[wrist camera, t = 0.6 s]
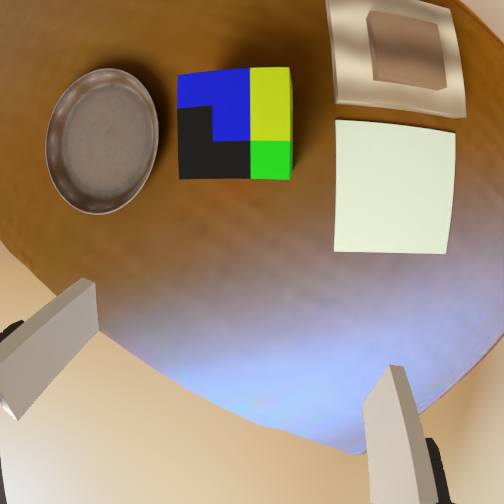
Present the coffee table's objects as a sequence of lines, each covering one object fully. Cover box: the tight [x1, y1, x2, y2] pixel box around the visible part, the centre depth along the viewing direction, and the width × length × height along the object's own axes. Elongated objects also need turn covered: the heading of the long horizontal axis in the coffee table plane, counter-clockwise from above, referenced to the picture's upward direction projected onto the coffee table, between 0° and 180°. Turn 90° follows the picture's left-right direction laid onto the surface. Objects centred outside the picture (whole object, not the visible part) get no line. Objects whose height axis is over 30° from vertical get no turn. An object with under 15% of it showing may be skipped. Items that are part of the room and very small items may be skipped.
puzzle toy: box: [177, 67, 293, 179], centre depth 28 cm, size 10×10×10 cm
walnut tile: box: [366, 11, 447, 91], centre depth 22 cm, size 8×8×2 cm
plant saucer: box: [45, 68, 159, 215], centre depth 35 cm, size 21×21×3 cm
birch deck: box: [325, 0, 466, 119], centre depth 25 cm, size 15×16×4 cm
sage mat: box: [334, 120, 455, 254], centre depth 32 cm, size 16×16×1 cm
